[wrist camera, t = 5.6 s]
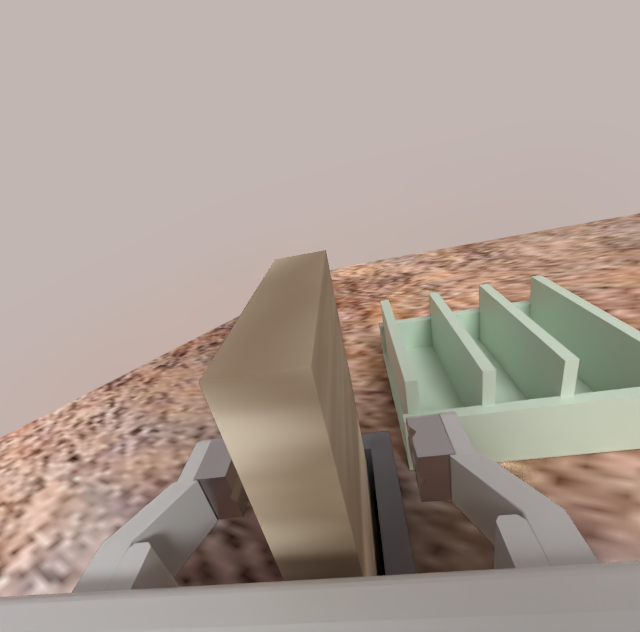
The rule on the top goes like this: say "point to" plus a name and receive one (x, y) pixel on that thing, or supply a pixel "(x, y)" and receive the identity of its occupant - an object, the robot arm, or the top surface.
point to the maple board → (297, 424)
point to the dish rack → (519, 373)
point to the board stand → (388, 503)
